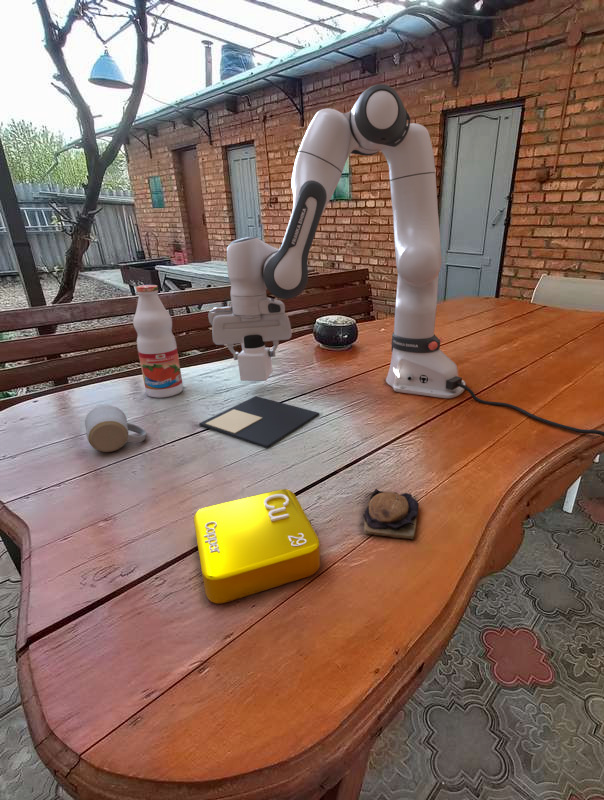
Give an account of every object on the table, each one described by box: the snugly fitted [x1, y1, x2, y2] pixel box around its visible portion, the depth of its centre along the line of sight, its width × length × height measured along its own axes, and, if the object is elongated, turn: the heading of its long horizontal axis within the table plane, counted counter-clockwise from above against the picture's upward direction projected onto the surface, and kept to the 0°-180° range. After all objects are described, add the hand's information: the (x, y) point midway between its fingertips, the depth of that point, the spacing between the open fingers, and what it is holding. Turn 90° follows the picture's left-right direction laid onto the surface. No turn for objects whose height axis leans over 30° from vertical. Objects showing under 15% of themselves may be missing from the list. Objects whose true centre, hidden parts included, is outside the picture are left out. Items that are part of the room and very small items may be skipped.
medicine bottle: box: [237, 335, 273, 382], centre depth 113 cm, size 7×7×12 cm
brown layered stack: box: [362, 488, 419, 540], centre depth 67 cm, size 11×8×4 cm
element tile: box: [193, 488, 321, 604], centre depth 59 cm, size 15×15×5 cm
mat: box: [198, 395, 320, 449], centre depth 99 cm, size 20×19×1 cm
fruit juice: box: [132, 284, 184, 399], centre depth 110 cm, size 9×9×28 cm
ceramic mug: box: [84, 404, 147, 453], centre depth 87 cm, size 11×8×8 cm
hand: (254, 357), depth 113 cm, fingers closed on medicine bottle, 8 cm apart
